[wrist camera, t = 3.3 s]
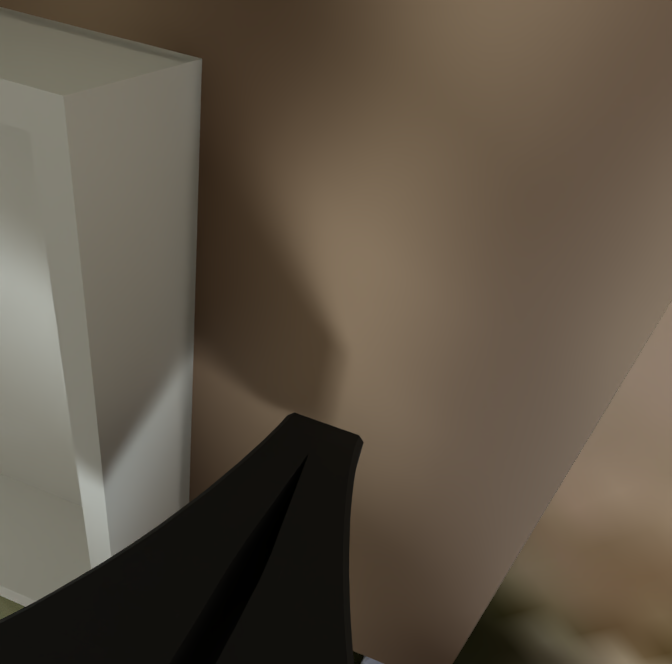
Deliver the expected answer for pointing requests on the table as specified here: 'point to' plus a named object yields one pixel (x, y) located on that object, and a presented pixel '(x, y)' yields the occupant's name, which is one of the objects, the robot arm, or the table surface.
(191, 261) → the tray
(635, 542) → the table surface
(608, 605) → the table surface
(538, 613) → the table surface
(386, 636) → the bench board
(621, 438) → the table surface
